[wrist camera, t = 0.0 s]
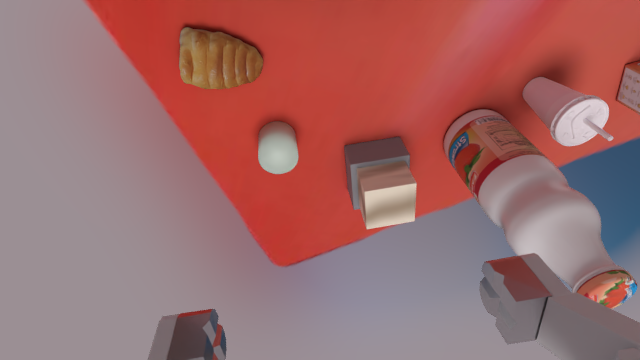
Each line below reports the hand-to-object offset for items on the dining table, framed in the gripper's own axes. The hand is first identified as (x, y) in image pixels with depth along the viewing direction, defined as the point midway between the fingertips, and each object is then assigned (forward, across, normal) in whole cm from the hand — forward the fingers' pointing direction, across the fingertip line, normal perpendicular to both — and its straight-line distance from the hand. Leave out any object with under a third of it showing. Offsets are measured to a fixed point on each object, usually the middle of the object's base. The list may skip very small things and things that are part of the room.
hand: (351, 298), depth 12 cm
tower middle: (+36, -9, +20) cm, 43 cm away
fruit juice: (+41, -24, +18) cm, 51 cm away
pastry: (+40, +9, +1) cm, 41 cm away
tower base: (+41, -9, +20) cm, 47 cm away
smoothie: (+40, -32, +12) cm, 53 cm away
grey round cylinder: (+40, +4, +13) cm, 43 cm away
